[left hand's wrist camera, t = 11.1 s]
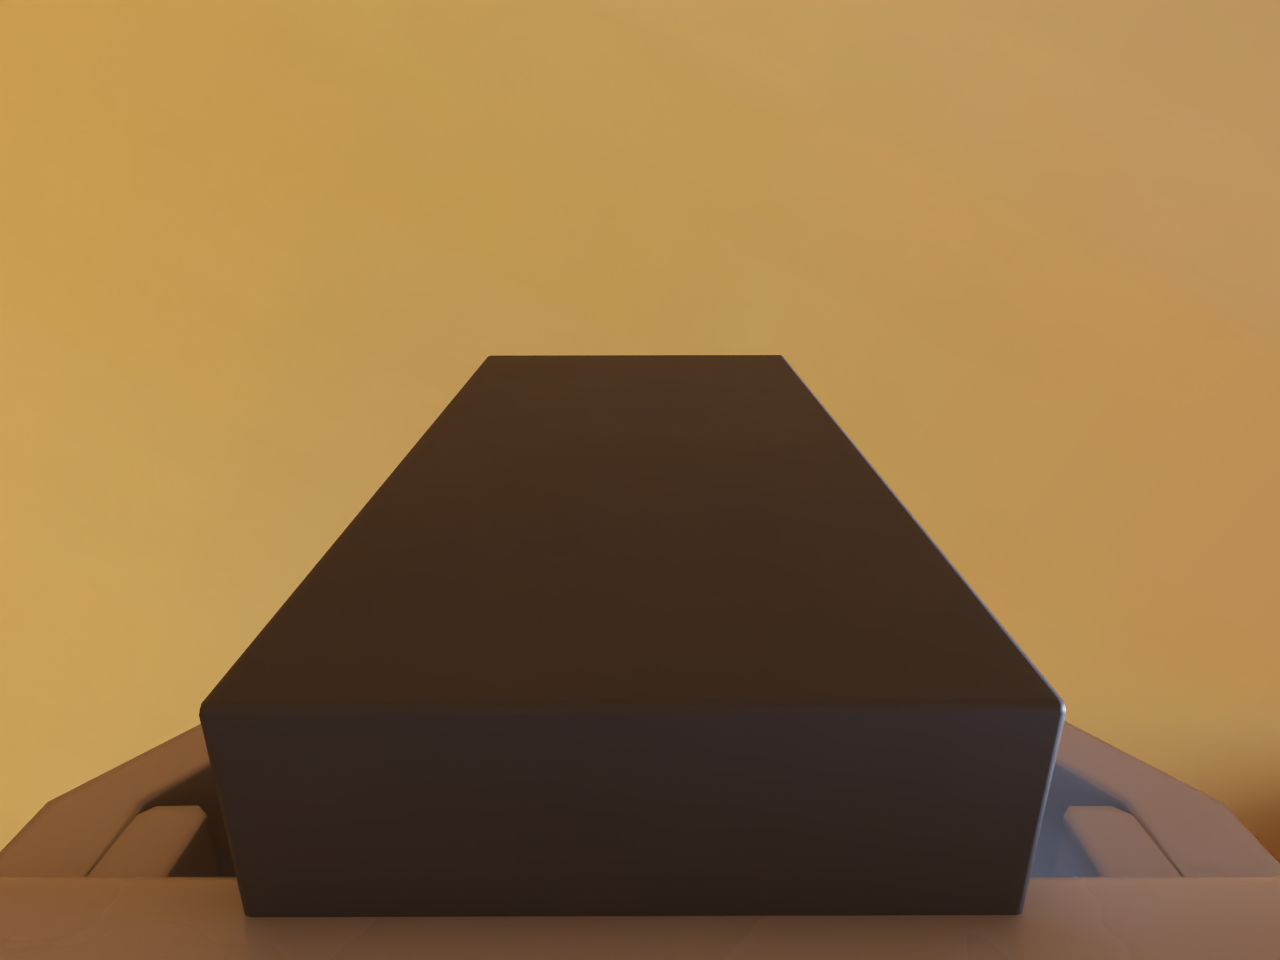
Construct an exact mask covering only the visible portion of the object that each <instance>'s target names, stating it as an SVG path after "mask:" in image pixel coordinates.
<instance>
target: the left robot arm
mask: <svg viewBox="0 0 1280 960" xmlns="http://www.w3.org/2000/svg"><path fill="white" fill-rule="evenodd" d="M0 960H1280V864H1279V862H1278V861H1277V860H1276V859H1275V858H1274V857H1273V856H1272V855H1271V854H1270V853H1269V852H1268V851H1267V850H1266V848H1265V847H1264V846H1263V845H1262V844H1261V843H1260V842H1259V841H1258V840H1257V839H1256V838H1255V837H1254V835H1253V834H1252V833H1251V832H1250V831H1249V830H1248V829H1247V828H1246V827H1245V826H1244V825H1243V824H1242V822H1241V821H1240V820H1239V819H1238V818H1237V817H1236V816H1235V815H1234V814H1233V813H1232V812H1231V811H1230V810H1229V808H1228V807H1227V806H1226V805H1225V804H1224V803H1222V802H1220V801H1218V800H1216V799H1214V798H1212V797H1210V796H1208V795H1206V794H1204V793H1203V792H1201V791H1199V790H1197V789H1195V788H1193V787H1191V786H1189V785H1187V784H1185V783H1183V782H1181V781H1179V780H1177V779H1176V778H1174V777H1172V776H1170V775H1168V774H1166V773H1164V772H1162V771H1160V770H1158V769H1156V768H1154V767H1152V766H1150V765H1148V764H1147V763H1145V762H1143V761H1141V760H1139V759H1137V758H1135V757H1133V756H1131V755H1129V754H1127V753H1125V752H1123V751H1121V750H1120V749H1118V748H1116V747H1114V746H1112V745H1110V744H1108V743H1106V742H1104V741H1102V740H1100V739H1098V738H1096V737H1094V736H1092V735H1091V734H1089V733H1087V732H1085V731H1083V730H1081V729H1079V728H1077V727H1075V726H1073V725H1071V724H1069V723H1067V722H1065V721H1064V724H1063V729H1062V733H1061V738H1060V743H1059V747H1058V752H1057V756H1056V761H1055V765H1054V770H1053V774H1052V779H1051V784H1050V788H1049V793H1048V797H1047V802H1046V806H1045V811H1044V816H1043V820H1042V825H1041V829H1040V834H1039V838H1038V843H1037V848H1036V852H1035V857H1034V861H1033V866H1032V870H1031V875H1030V879H1029V884H1028V889H1027V893H1026V898H1025V902H1024V907H1023V911H1022V913H1021V914H1018V915H868V916H523V917H249V916H246V915H245V913H244V909H243V905H242V900H241V896H240V891H239V887H238V883H237V878H236V874H235V870H234V865H233V861H232V856H231V852H230V848H229V843H228V839H227V835H226V830H225V826H224V822H223V817H222V813H221V808H220V804H219V800H218V795H217V791H216V787H215V782H214V778H213V773H212V769H211V765H210V760H209V756H208V752H207V747H206V743H205V738H204V734H203V730H202V725H201V724H200V725H198V726H196V727H194V728H192V729H190V730H188V731H186V732H184V733H182V734H180V735H178V736H176V737H174V738H172V739H170V740H168V741H167V742H165V743H163V744H161V745H159V746H157V747H155V748H153V749H151V750H149V751H147V752H145V753H143V754H141V755H139V756H137V757H135V758H133V759H131V760H129V761H127V762H125V763H123V764H122V765H120V766H118V767H116V768H114V769H112V770H110V771H108V772H106V773H104V774H102V775H100V776H98V777H96V778H94V779H92V780H90V781H88V782H86V783H84V784H82V785H80V786H79V787H77V788H75V789H73V790H71V791H69V792H67V793H65V794H63V795H61V796H59V797H57V798H55V799H53V800H51V801H49V802H47V803H46V804H45V805H44V807H43V808H42V809H41V810H40V811H39V812H38V813H37V814H36V815H35V816H34V817H33V818H32V819H31V820H30V821H29V822H28V823H27V824H26V826H25V827H24V828H23V829H22V830H21V831H20V832H19V833H18V834H17V835H16V836H15V837H14V838H13V839H12V840H11V841H10V842H9V843H8V845H7V846H6V847H5V848H4V849H3V850H2V851H1V852H0Z"/></svg>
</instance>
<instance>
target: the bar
mask: <svg viewBox="0 0 1280 960" xmlns="http://www.w3.org/2000/svg"><path fill="white" fill-rule="evenodd" d="M1065 715H1066V708H1065V704H1064V701H1063V699H1062V698H1061V697H1060V696H1059V695H1058V693H1057V692H1056V691H1055V690H1054V688H1053V687H1052V686H1051V685H1050V684H1049V682H1048V681H1047V680H1046V679H1045V677H1044V676H1043V675H1042V674H1041V672H1040V671H1039V670H1038V669H1037V668H1036V666H1035V665H1034V664H1033V663H1032V661H1031V660H1030V659H1029V658H1028V657H1027V655H1026V654H1025V653H1024V652H1023V650H1022V649H1021V648H1020V647H1019V645H1018V644H1017V643H1016V642H1015V641H1014V639H1013V638H1012V637H1011V636H1010V634H1009V633H1008V632H1007V631H1006V630H1005V628H1004V627H1003V626H1002V625H1001V623H1000V622H999V621H998V620H997V619H996V617H995V616H994V615H993V614H992V612H991V611H990V610H989V609H988V607H987V606H986V605H985V604H984V603H983V601H982V600H981V599H980V598H979V596H978V595H977V594H976V593H975V592H974V590H973V589H972V588H971V587H970V585H969V584H968V583H967V582H966V581H965V579H964V578H963V577H962V576H961V574H960V573H959V572H958V571H957V569H956V568H955V567H954V566H953V565H952V563H951V562H950V561H949V560H948V558H947V557H946V556H945V555H944V554H943V552H942V551H941V550H940V549H939V547H938V546H937V545H936V544H935V542H934V541H933V540H932V539H931V538H930V536H929V535H928V534H927V533H926V531H925V530H924V529H923V528H922V527H921V525H920V524H919V523H918V522H917V520H916V519H915V518H914V517H913V516H912V514H911V513H910V512H909V511H908V509H907V508H906V507H905V506H904V504H903V503H902V502H901V501H900V500H899V498H898V497H897V496H896V495H895V493H894V492H893V491H892V490H891V489H890V487H889V486H888V485H887V484H886V482H885V481H884V480H883V479H882V478H881V476H880V475H879V474H878V473H877V471H876V470H875V469H874V468H873V466H872V465H871V464H870V463H869V462H868V460H867V459H866V458H865V457H864V455H863V454H862V453H861V452H860V451H859V449H858V448H857V447H856V446H855V444H854V443H853V442H852V441H851V439H850V438H849V437H848V436H847V435H846V433H845V432H844V431H843V430H842V428H841V427H840V426H839V425H838V424H837V422H836V421H835V420H834V419H833V417H832V416H831V415H830V414H829V413H828V411H827V410H826V409H825V408H824V406H823V405H822V404H821V403H820V401H819V400H818V399H817V398H816V397H815V395H814V394H813V393H812V392H811V390H810V389H809V388H808V387H807V386H806V384H805V383H804V382H803V381H802V379H801V378H800V377H799V376H798V375H797V373H796V372H795V371H794V370H793V368H792V367H791V366H790V365H789V363H788V362H787V361H786V360H785V359H784V357H783V356H781V355H657V356H489V357H488V358H487V359H486V360H485V361H484V362H483V364H482V365H481V366H480V367H479V368H478V370H477V371H476V372H475V373H474V374H473V376H472V377H471V378H470V379H469V381H468V382H467V383H466V384H465V385H464V387H463V388H462V389H461V390H460V391H459V393H458V394H457V395H456V396H455V397H454V399H453V400H452V401H451V402H450V404H449V405H448V406H447V407H446V408H445V410H444V411H443V412H442V413H441V414H440V416H439V417H438V418H437V419H436V420H435V422H434V423H433V424H432V425H431V426H430V428H429V429H428V430H427V431H426V433H425V434H424V435H423V436H422V437H421V439H420V440H419V441H418V442H417V443H416V445H415V446H414V447H413V448H412V449H411V451H410V452H409V453H408V454H407V456H406V457H405V458H404V459H403V460H402V462H401V463H400V464H399V465H398V466H397V468H396V469H395V470H394V471H393V472H392V474H391V475H390V476H389V477H388V479H387V480H386V481H385V482H384V483H383V485H382V486H381V487H380V488H379V489H378V491H377V492H376V493H375V494H374V495H373V497H372V498H371V499H370V500H369V502H368V503H367V504H366V505H365V506H364V508H363V509H362V510H361V511H360V512H359V514H358V515H357V516H356V517H355V518H354V520H353V521H352V522H351V523H350V525H349V526H348V527H347V528H346V529H345V531H344V532H343V533H342V534H341V535H340V537H339V538H338V539H337V540H336V541H335V543H334V544H333V545H332V546H331V548H330V549H329V550H328V551H327V552H326V554H325V555H324V556H323V557H322V558H321V560H320V561H319V562H318V563H317V564H316V566H315V567H314V568H313V569H312V571H311V572H310V573H309V574H308V575H307V577H306V578H305V579H304V580H303V581H302V583H301V584H300V585H299V586H298V587H297V589H296V590H295V591H294V592H293V594H292V595H291V596H290V597H289V598H288V600H287V601H286V602H285V603H284V604H283V606H282V607H281V608H280V609H279V610H278V612H277V613H276V614H275V615H274V617H273V618H272V619H271V620H270V621H269V623H268V624H267V625H266V626H265V627H264V629H263V630H262V631H261V632H260V633H259V635H258V636H257V637H256V638H255V639H254V641H253V642H252V643H251V644H250V646H249V647H248V648H247V649H246V650H245V652H244V653H243V654H242V655H241V656H240V658H239V659H238V660H237V661H236V662H235V664H234V665H233V666H232V667H231V669H230V670H229V671H228V672H227V673H226V675H225V676H224V677H223V678H222V679H221V681H220V682H219V683H218V684H217V685H216V687H215V688H214V689H213V690H212V692H211V693H210V694H209V695H208V696H207V698H206V699H205V700H204V701H203V702H202V704H201V708H200V713H199V717H200V721H201V725H202V730H203V734H204V738H205V743H206V747H207V752H208V756H209V760H210V765H211V769H212V773H213V778H214V782H215V787H216V791H217V795H218V800H219V804H220V808H221V813H222V817H223V822H224V826H225V830H226V835H227V839H228V843H229V848H230V852H231V856H232V861H233V865H234V870H235V874H236V878H237V883H238V887H239V891H240V896H241V900H242V905H243V909H244V913H245V915H246V916H249V917H523V916H868V915H1018V914H1021V913H1022V911H1023V907H1024V902H1025V898H1026V893H1027V889H1028V884H1029V879H1030V875H1031V870H1032V866H1033V861H1034V857H1035V852H1036V848H1037V843H1038V838H1039V834H1040V829H1041V825H1042V820H1043V816H1044V811H1045V806H1046V802H1047V797H1048V793H1049V788H1050V784H1051V779H1052V774H1053V770H1054V765H1055V761H1056V756H1057V752H1058V747H1059V743H1060V738H1061V733H1062V729H1063V724H1064V720H1065Z"/></svg>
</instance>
